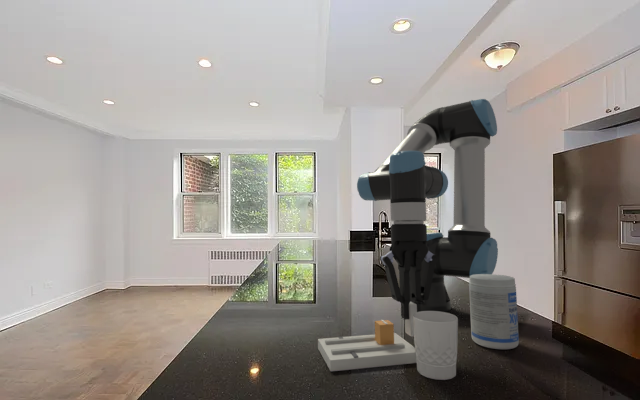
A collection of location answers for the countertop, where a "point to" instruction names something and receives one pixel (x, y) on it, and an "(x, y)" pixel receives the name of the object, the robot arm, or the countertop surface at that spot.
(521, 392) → the countertop surface
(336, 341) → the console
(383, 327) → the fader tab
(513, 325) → the supplement tub
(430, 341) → the white cup
